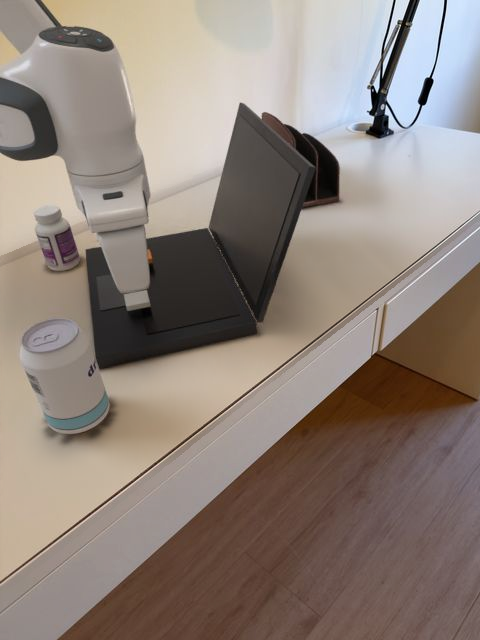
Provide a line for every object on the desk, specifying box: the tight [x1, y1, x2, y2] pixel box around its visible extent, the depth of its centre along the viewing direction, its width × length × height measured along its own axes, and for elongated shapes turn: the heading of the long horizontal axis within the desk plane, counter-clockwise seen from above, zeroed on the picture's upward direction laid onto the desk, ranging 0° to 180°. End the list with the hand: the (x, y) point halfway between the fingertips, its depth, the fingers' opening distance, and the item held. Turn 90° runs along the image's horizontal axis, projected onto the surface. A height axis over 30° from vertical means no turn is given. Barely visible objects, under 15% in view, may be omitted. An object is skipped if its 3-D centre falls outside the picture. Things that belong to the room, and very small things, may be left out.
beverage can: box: [19, 317, 111, 435], centre depth 56 cm, size 7×7×12 cm
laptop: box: [85, 227, 258, 370], centre depth 79 cm, size 21×30×2 cm
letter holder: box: [261, 111, 341, 209], centre depth 105 cm, size 10×20×14 cm, turn 17°
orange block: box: [147, 249, 153, 263], centre depth 82 cm, size 3×3×1 cm
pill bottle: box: [33, 204, 81, 272], centre depth 85 cm, size 5×5×10 cm
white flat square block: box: [124, 290, 151, 311], centre depth 73 cm, size 3×3×1 cm
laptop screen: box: [207, 102, 316, 323], centre depth 76 cm, size 21×30×1 cm
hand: (134, 285), depth 71 cm, fingers closed
